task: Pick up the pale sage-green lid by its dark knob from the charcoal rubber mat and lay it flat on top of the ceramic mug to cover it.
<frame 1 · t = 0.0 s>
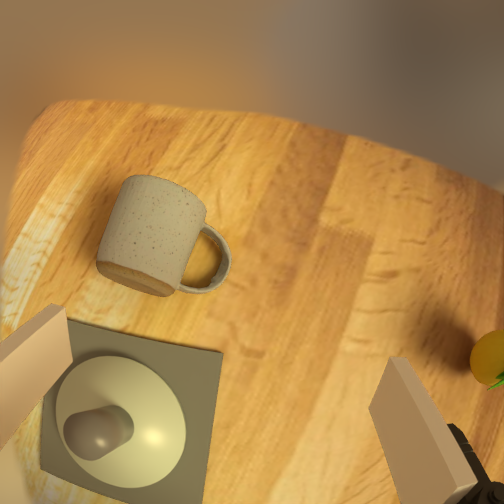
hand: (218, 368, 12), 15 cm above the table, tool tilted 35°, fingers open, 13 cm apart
lid: (118, 423, 23), resting on mat
lemon: (473, 359, 27), on the table
mat: (120, 422, 24), on the table
ceramic mug: (173, 255, 29), on the table
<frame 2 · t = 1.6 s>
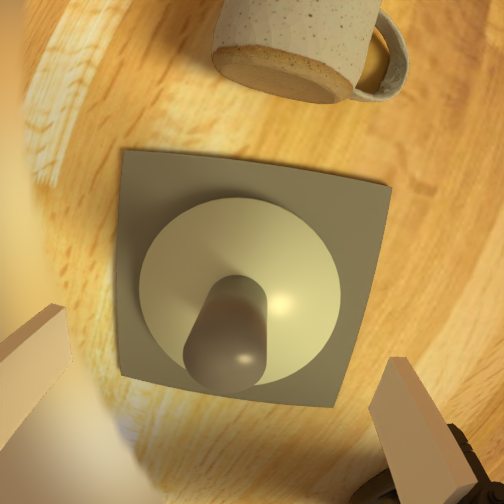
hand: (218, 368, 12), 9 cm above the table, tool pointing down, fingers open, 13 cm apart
lid: (238, 297, 20), point 1 cm above the table, touching mat
mat: (239, 294, 20), on the table
ceramic mug: (315, 45, 16), on the table
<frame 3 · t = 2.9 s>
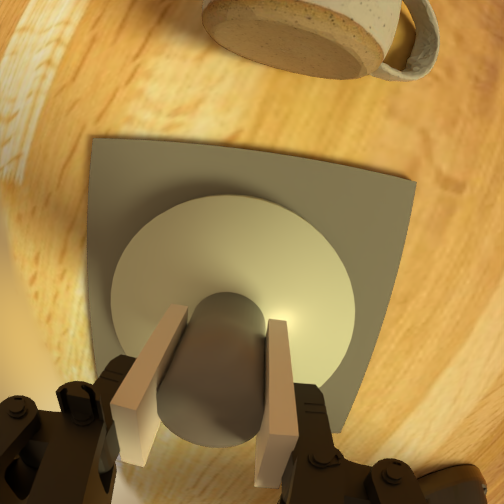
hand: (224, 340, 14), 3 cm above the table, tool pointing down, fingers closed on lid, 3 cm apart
lid: (230, 316, 16), point 1 cm above the table, touching gripper
mat: (231, 309, 17), on the table
ceramic mug: (329, 14, 13), on the table
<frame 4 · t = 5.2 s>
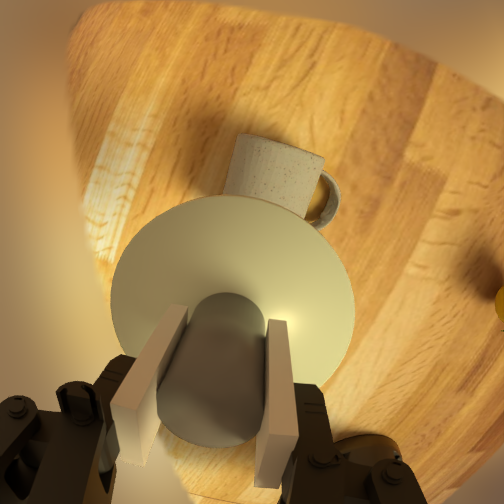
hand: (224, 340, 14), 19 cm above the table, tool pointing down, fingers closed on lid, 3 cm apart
lid: (230, 316, 16), point 17 cm above the table, touching gripper
lemon: (499, 291, 33), on the table
ceramic mug: (282, 187, 31), on the table
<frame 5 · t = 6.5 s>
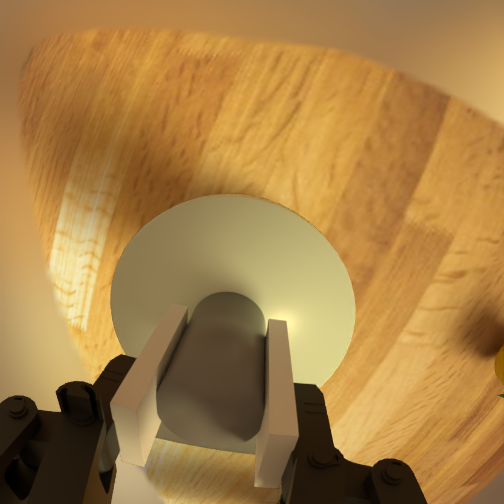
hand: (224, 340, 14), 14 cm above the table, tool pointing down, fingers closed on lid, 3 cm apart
lid: (230, 316, 16), point 12 cm above the table, touching gripper
lemon: (500, 346, 29), on the table
mat: (206, 398, 31), on the table
when the fingers open (12 cm above the table, at t = 7.4 s): lid drops 2 cm, resting on ceramic mug.
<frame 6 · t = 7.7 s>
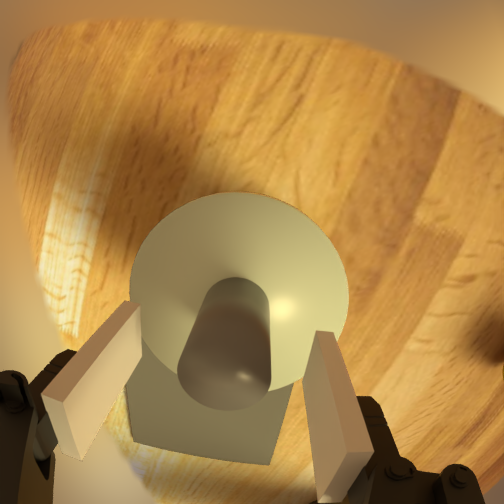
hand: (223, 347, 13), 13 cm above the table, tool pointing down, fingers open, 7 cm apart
lid: (237, 300, 18), point 8 cm above the table, touching ceramic mug
mat: (203, 407, 30), on the table
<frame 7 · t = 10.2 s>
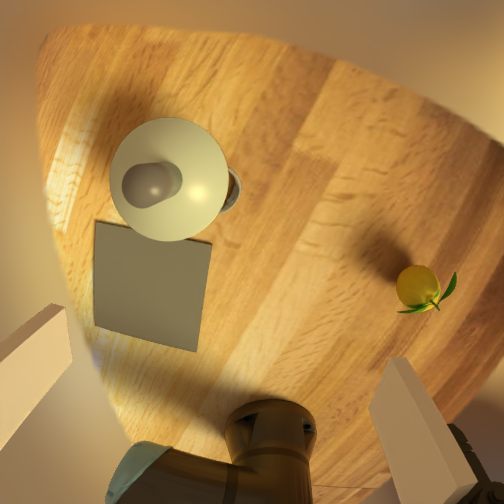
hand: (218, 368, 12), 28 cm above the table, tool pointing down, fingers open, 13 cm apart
lid: (168, 179, 30), point 8 cm above the table, touching ceramic mug
lemon: (407, 275, 40), on the table
mat: (146, 289, 42), on the table
ceramic mug: (198, 177, 38), on the table, touching lid
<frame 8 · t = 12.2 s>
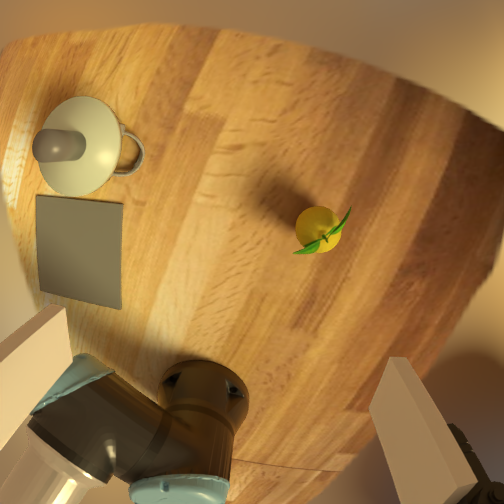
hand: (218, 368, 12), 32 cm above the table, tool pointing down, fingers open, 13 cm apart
lid: (78, 146, 33), point 8 cm above the table, touching ceramic mug
lemon: (314, 221, 42), on the table
mat: (76, 251, 44), on the table
ceramic mug: (113, 148, 41), on the table, touching lid
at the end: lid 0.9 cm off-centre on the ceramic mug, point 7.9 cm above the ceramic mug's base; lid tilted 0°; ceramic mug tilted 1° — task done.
